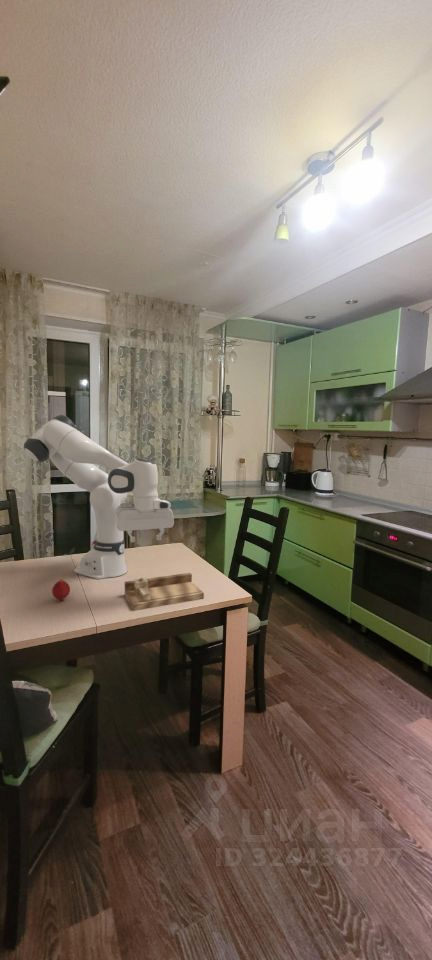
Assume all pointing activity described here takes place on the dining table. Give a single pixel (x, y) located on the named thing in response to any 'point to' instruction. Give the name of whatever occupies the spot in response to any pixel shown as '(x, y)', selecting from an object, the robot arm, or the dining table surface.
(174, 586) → the wooden tray
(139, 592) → the gauge
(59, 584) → the onion
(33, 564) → the dining table surface
